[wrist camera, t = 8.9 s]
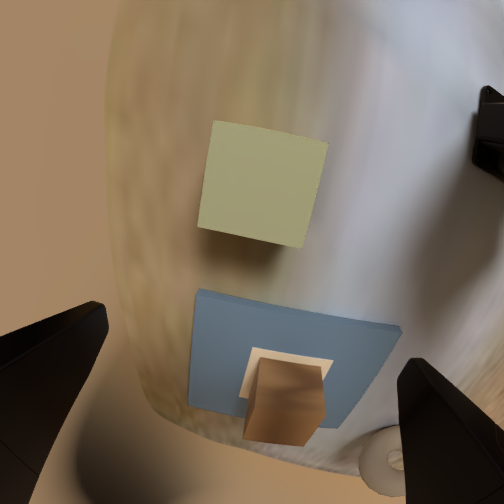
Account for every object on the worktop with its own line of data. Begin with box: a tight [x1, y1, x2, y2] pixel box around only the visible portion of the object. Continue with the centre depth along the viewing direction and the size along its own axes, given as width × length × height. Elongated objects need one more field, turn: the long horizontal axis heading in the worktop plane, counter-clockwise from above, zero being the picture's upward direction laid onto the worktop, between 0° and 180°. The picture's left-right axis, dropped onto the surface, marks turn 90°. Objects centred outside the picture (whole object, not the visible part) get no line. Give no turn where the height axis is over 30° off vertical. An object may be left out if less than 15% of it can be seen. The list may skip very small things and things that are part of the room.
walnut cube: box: [243, 357, 326, 446], centre depth 20 cm, size 5×5×5 cm
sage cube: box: [197, 120, 329, 249], centre depth 14 cm, size 5×5×5 cm
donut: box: [358, 425, 406, 497], centre depth 21 cm, size 10×4×10 cm, turn 90°
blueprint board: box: [188, 289, 402, 428], centre depth 23 cm, size 16×14×1 cm
